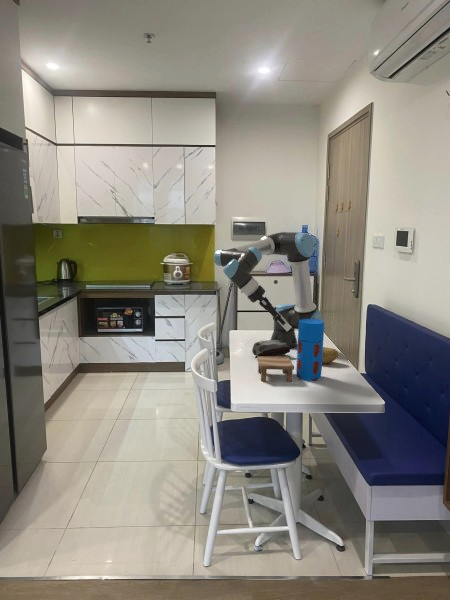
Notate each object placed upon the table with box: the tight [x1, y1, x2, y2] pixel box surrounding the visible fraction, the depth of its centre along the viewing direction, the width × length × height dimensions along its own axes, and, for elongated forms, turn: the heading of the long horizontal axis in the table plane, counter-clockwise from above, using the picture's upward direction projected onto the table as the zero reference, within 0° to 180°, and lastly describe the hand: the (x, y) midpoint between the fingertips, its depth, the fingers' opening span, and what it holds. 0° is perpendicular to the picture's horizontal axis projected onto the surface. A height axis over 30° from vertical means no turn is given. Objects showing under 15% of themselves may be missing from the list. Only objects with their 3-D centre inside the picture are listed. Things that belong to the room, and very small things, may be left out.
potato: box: [322, 346, 339, 365], centre depth 211 cm, size 10×14×8 cm
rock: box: [251, 339, 291, 357], centre depth 219 cm, size 18×11×8 cm, turn 118°
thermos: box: [295, 319, 325, 382], centre depth 189 cm, size 11×11×25 cm
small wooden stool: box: [256, 355, 295, 383], centre depth 189 cm, size 14×14×7 cm
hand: (286, 325), depth 187 cm, fingers open, 13 cm apart
